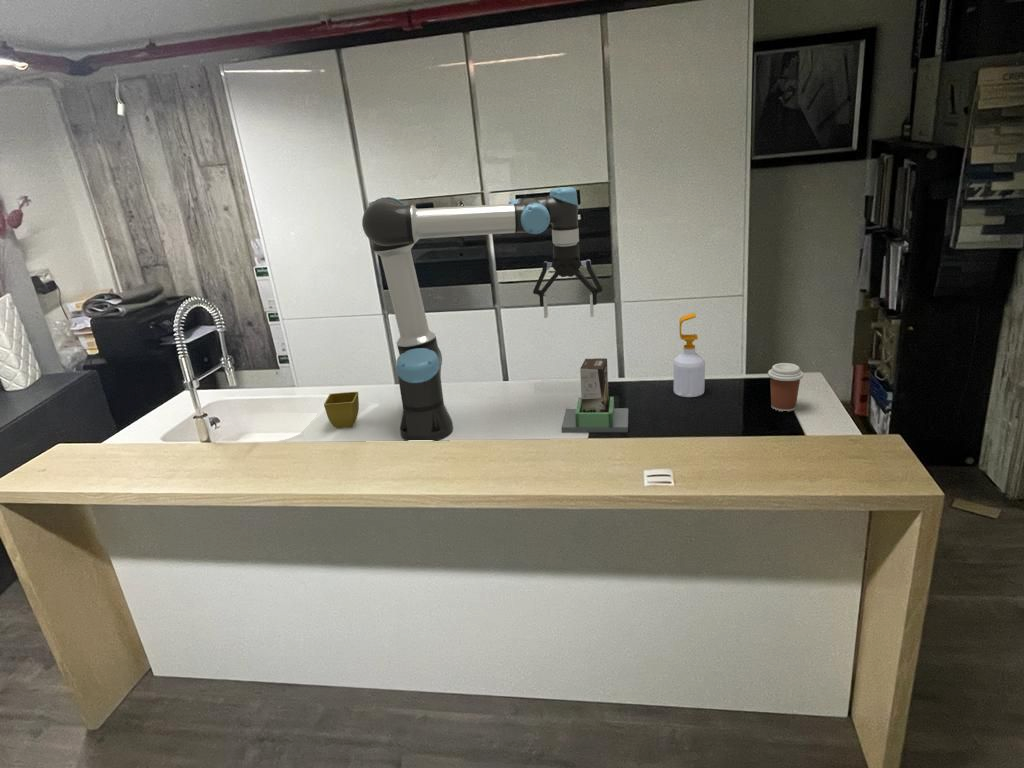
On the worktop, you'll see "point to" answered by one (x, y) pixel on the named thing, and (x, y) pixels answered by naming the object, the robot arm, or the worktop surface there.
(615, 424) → the chute bracket
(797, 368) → the coffee cup
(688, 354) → the soap bottle
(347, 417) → the flower pot
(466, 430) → the worktop surface
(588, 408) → the coffee box
